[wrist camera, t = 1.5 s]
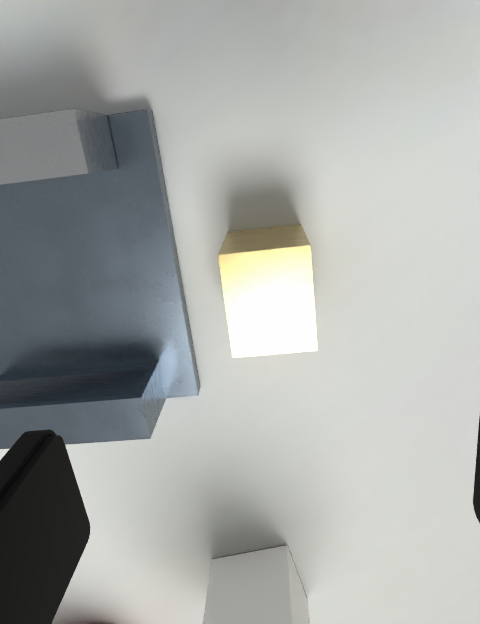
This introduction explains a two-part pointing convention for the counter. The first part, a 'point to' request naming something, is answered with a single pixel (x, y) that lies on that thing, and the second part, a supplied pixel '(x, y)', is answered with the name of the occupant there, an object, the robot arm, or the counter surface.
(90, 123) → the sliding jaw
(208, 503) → the counter surface
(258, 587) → the milk
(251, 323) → the brass block
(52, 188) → the vise
